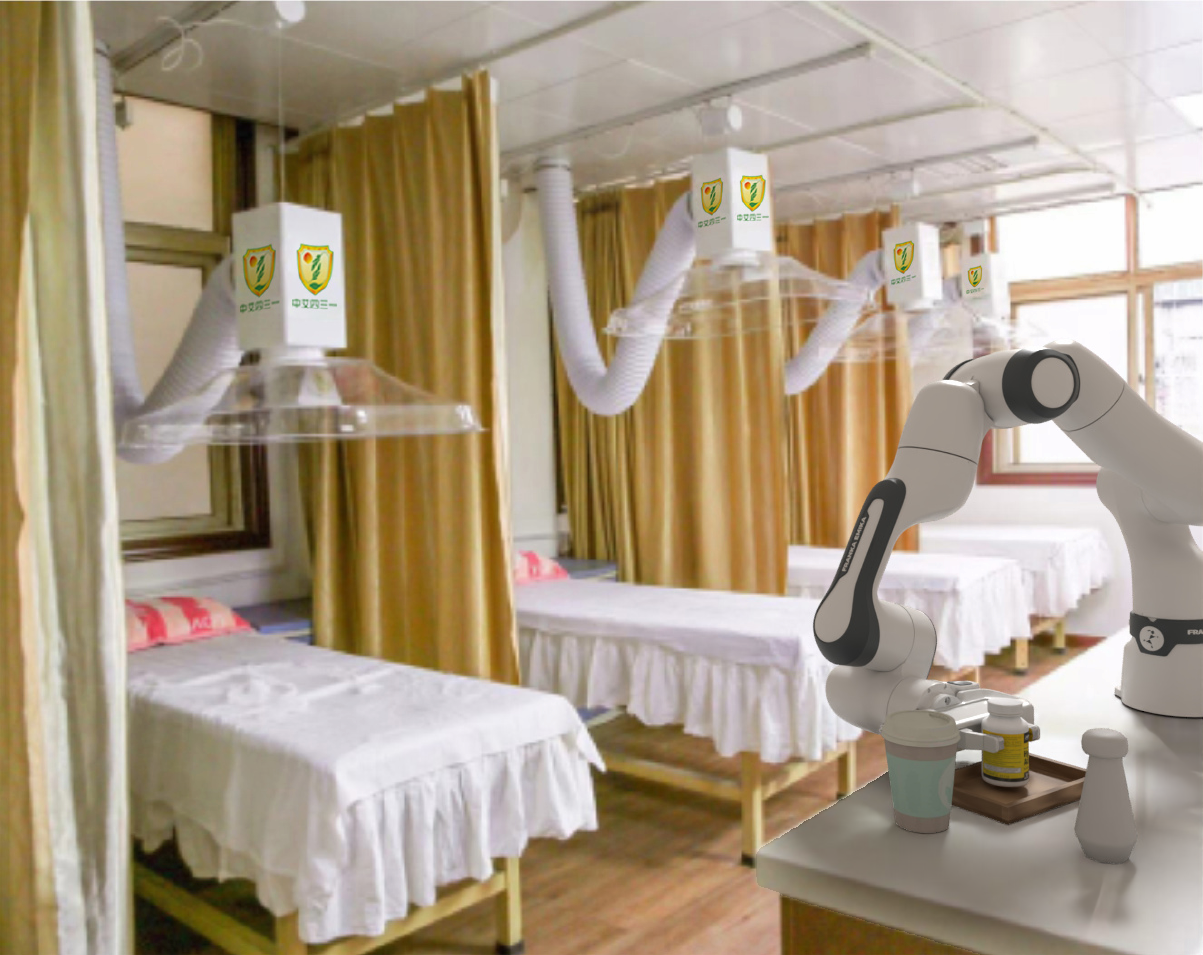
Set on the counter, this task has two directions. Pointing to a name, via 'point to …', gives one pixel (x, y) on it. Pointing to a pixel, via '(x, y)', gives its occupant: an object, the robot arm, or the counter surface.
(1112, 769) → the salt shaker
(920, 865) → the counter surface
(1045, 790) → the tray
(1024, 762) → the supplement bottle
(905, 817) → the coffee cup
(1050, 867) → the counter surface
